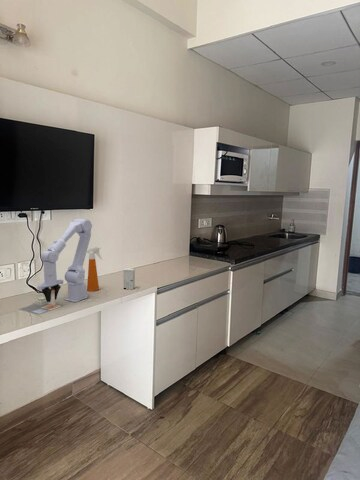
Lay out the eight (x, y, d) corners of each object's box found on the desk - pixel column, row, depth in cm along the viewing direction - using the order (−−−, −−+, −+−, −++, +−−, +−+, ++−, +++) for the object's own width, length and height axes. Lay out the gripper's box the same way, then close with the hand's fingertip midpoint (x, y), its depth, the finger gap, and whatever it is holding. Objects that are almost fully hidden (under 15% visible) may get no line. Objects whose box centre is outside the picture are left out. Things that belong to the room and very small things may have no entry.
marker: (52, 302, 177) (51, 288, 175) (56, 303, 175) (56, 289, 174) (46, 304, 174) (45, 290, 173) (51, 305, 172) (50, 291, 171)
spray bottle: (100, 292, 200) (99, 247, 196) (84, 290, 203) (83, 246, 200) (106, 289, 206) (105, 246, 203) (91, 287, 210) (90, 245, 206)
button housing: (42, 301, 183) (42, 298, 182) (48, 303, 180) (48, 299, 180) (35, 304, 179) (35, 300, 178) (41, 305, 176) (41, 302, 176)
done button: (42, 300, 181) (42, 297, 181) (46, 301, 180) (46, 297, 180) (37, 301, 179) (37, 298, 178) (41, 302, 177) (41, 299, 177)
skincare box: (123, 289, 207) (122, 269, 205) (125, 287, 212) (125, 267, 210) (133, 289, 206) (132, 269, 205) (135, 287, 211) (135, 268, 209)
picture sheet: (43, 302, 184) (43, 301, 184) (63, 307, 177) (63, 305, 177) (18, 311, 171) (18, 309, 171) (39, 316, 164) (39, 314, 164)
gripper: (56, 270, 180) (57, 295, 182) (32, 276, 168) (34, 303, 170) (65, 272, 177) (66, 297, 179) (42, 278, 164) (43, 305, 166)
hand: (51, 300), depth 174 cm, fingers closed on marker, 3 cm apart
